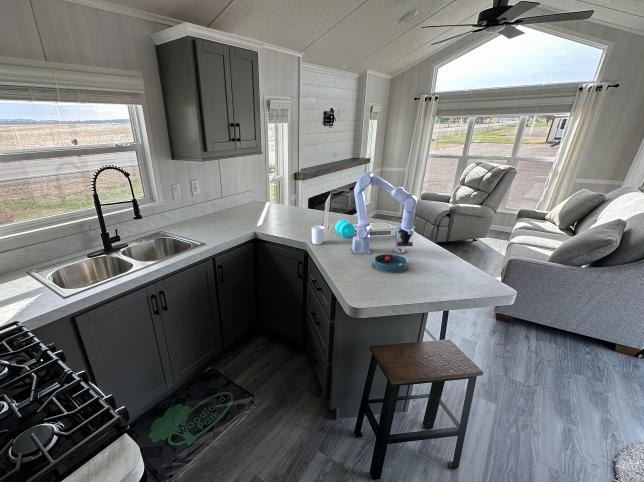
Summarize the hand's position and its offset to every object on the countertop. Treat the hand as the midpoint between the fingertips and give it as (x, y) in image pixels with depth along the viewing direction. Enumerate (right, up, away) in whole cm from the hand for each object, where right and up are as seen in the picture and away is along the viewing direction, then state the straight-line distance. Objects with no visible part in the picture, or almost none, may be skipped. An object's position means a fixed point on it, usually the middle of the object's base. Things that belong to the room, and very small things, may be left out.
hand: (404, 243), depth 176 cm
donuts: (-24, +13, +37) cm, 46 cm away
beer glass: (+2, -4, +11) cm, 12 cm away
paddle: (0, -1, +1) cm, 2 cm away
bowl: (-11, -13, -8) cm, 19 cm away
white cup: (-43, +2, +29) cm, 52 cm away
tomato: (-11, -10, -4) cm, 15 cm away
